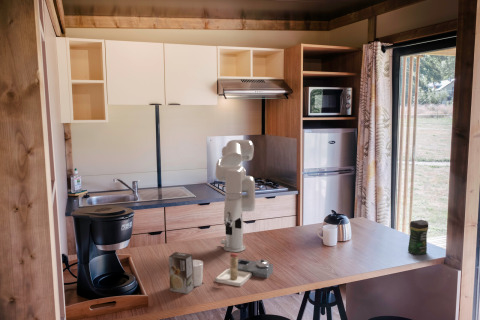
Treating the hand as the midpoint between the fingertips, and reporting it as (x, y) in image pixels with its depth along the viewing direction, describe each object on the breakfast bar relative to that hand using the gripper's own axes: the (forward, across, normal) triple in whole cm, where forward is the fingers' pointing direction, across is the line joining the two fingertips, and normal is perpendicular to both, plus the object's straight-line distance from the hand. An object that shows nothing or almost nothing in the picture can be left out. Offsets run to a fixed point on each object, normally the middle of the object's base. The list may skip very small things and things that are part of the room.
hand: (233, 231), depth 189 cm
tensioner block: (+24, -10, +6) cm, 26 cm away
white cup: (+24, +12, -14) cm, 30 cm away
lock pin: (+23, +1, +1) cm, 23 cm away
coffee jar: (+25, -76, +78) cm, 112 cm away
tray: (+24, +1, +1) cm, 24 cm away
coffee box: (+24, +20, -16) cm, 35 cm away
